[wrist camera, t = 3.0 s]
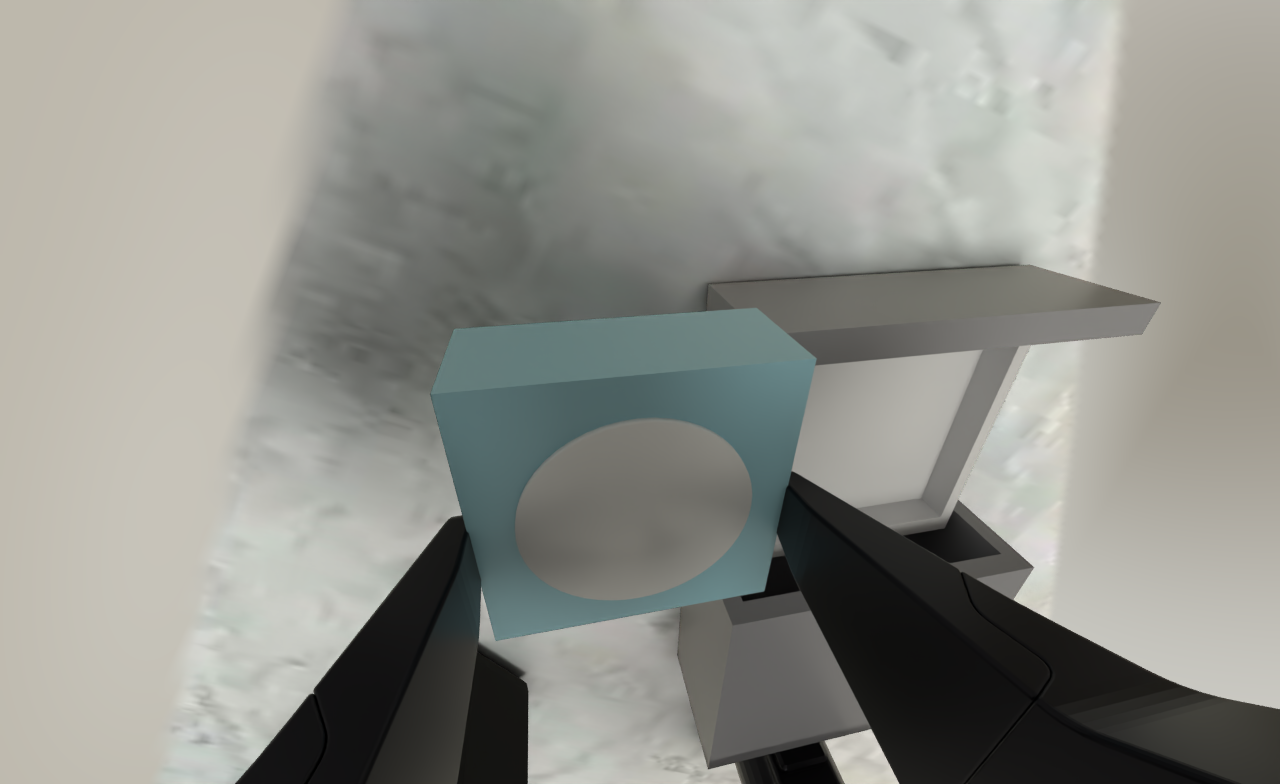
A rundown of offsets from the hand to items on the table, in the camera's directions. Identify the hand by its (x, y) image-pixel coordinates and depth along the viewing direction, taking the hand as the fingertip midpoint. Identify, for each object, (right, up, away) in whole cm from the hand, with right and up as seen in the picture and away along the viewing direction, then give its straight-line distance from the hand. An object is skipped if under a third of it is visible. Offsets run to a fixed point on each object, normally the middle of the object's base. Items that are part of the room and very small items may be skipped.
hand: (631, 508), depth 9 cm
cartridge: (0, +1, +1) cm, 2 cm away
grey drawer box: (+8, -7, +15) cm, 18 cm away
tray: (+8, +1, +10) cm, 13 cm away
